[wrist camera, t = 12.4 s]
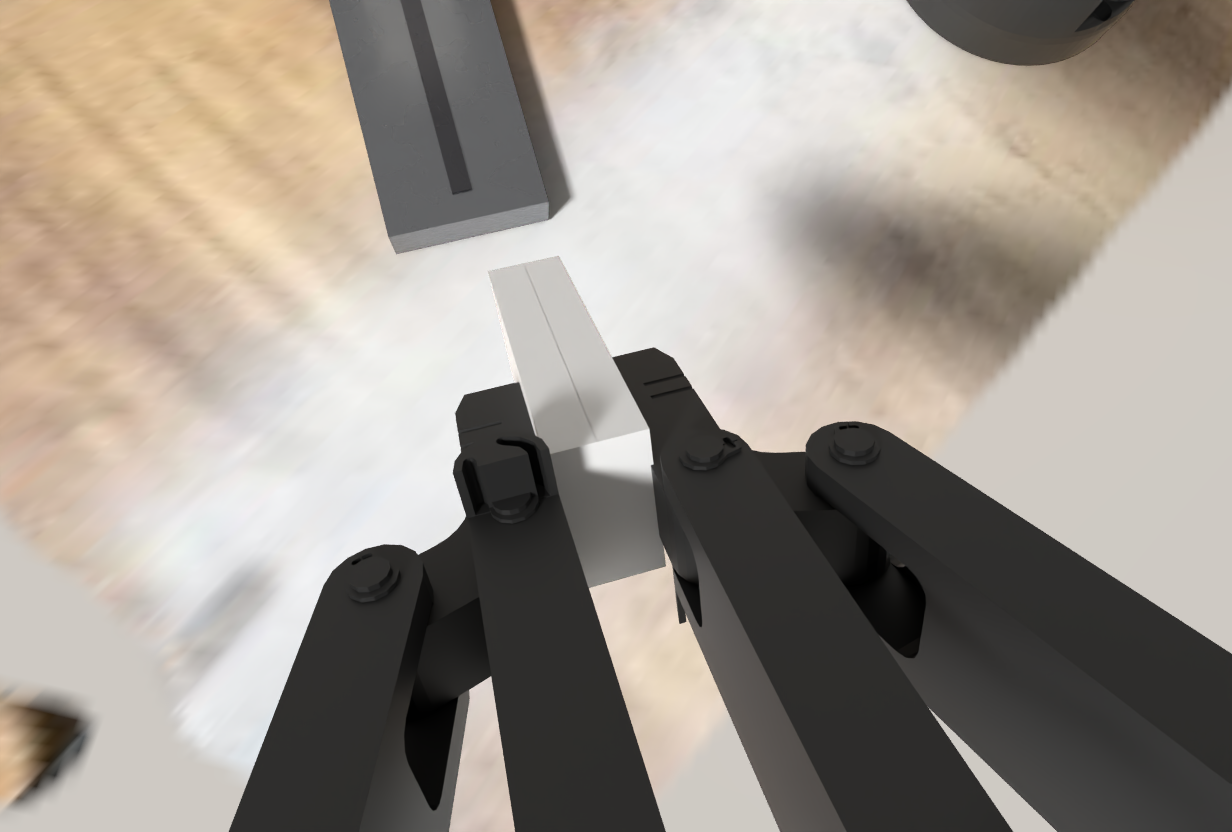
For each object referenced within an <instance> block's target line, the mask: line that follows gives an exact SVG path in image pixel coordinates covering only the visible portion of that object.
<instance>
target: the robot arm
mask: <svg viewBox="0 0 1232 832" xmlns="http://www.w3.org/2000/svg"><path fill="white" fill-rule="evenodd" d="M907 1H908V3H909V4H910V6H911V7H912V8H913V9H914V11H915V12H916V13H917V14H918V15H919V16H920V17H921V18H922V20H923V21H924V22H925V23H927V24H928V25H929V26H930V27H931V28H932V29H933V30H934V31H936V32H937V33H938V34H939V35H941V36H942V37H944V38H945V39H946V40H948V41H950V42H951V43H953V44H954V45H956V46H958V47H960V48H962V49H963V50H966V51H968V52H970V53H972V54H975V55H977V56H980V57H983V58H986V59H989V60H992V61H996V62H1001V63H1006V64H1014V65H1041V64H1048V63H1054V62H1058V61H1061V60H1064V59H1067V58H1070V57H1072V56H1074V55H1077V54H1078V53H1080V52H1082V51H1084V50H1085V49H1087V48H1088V47H1090V46H1091V45H1092V44H1094V43H1095V42H1096V41H1097V40H1098V39H1099V38H1100V37H1101V36H1102V35H1103V34H1104V33H1106V32H1107V31H1108V30H1109V29H1110V28H1111V27H1112V26H1113V25H1114V24H1115V23H1116V22H1117V21H1118V20H1119V19H1120V18H1121V17H1122V16H1123V15H1124V14H1125V13H1126V12H1127V11H1128V9H1129V8H1130V7H1131V6H1132V4H1133V3H1134V1H1135V0H907ZM488 274H489V278H490V283H491V287H492V291H493V295H494V300H495V304H496V308H497V312H498V317H499V321H500V325H501V330H502V334H503V338H504V342H505V347H506V351H507V355H508V359H509V364H510V368H511V372H512V376H513V381H514V383H512V384H508V385H504V386H500V387H495V388H491V389H487V390H483V391H479V392H475V393H470V394H466V395H464V397H463V399H462V401H461V403H460V405H459V407H458V409H457V411H456V413H455V415H456V422H457V428H458V433H459V441H460V446H461V454H460V455H459V456H458V458H457V459H456V460H455V463H454V469H453V475H454V478H455V481H456V484H457V488H458V491H459V494H460V497H461V500H462V504H463V507H464V510H465V513H466V518H465V520H464V521H463V523H462V524H461V525H460V527H459V528H458V529H457V530H456V531H455V532H454V533H453V534H452V535H451V536H450V537H448V538H447V539H446V540H444V541H442V542H441V543H439V544H438V545H436V546H434V547H432V548H431V549H429V550H427V551H425V552H423V553H421V554H419V555H418V554H417V553H416V552H415V551H414V550H411V549H409V548H407V547H405V546H402V545H385V544H384V545H380V546H376V547H372V548H368V549H365V550H363V551H361V552H359V553H357V554H355V555H353V556H351V557H349V558H347V559H346V560H345V561H344V562H343V563H341V564H340V565H339V566H338V567H337V568H336V569H334V570H333V571H332V573H331V575H330V576H329V578H328V579H327V581H326V583H325V584H324V586H323V589H322V591H321V594H320V596H319V599H318V602H317V604H316V607H315V609H314V612H313V614H312V617H311V620H310V622H309V625H308V627H307V630H306V633H305V635H304V638H303V640H302V643H301V646H300V648H299V651H298V653H297V656H296V659H295V661H294V664H293V666H292V669H291V672H290V674H289V677H288V679H287V682H286V684H285V687H284V690H283V692H282V695H281V697H280V700H279V703H278V705H277V708H276V710H275V713H274V716H273V718H272V721H271V723H270V726H269V729H268V731H267V734H266V736H265V739H264V742H263V744H262V747H261V749H260V752H259V754H258V757H257V760H256V762H255V765H254V767H253V770H252V773H251V775H250V778H249V780H248V783H247V786H246V788H245V791H244V794H243V796H242V799H241V801H240V804H239V806H238V809H237V812H236V814H235V817H234V819H233V822H232V825H231V827H230V830H229V832H449V827H450V820H451V814H452V808H453V801H454V795H455V788H456V782H457V776H458V769H459V763H460V756H461V750H462V744H463V737H464V731H465V724H466V718H467V712H468V705H469V699H470V698H469V689H471V688H473V687H474V686H476V685H477V684H479V683H481V682H482V681H484V680H485V679H487V678H489V677H490V676H491V677H492V683H493V690H494V696H495V703H496V709H497V716H498V722H499V729H500V735H501V742H502V748H503V755H504V761H505V768H506V774H507V781H508V787H509V794H510V800H511V807H512V813H513V820H514V826H515V832H666V831H665V828H664V825H663V822H662V818H661V816H660V812H659V809H658V806H657V803H656V799H655V796H654V793H653V790H652V787H651V784H650V780H649V777H648V774H647V771H646V768H645V765H644V762H643V758H642V755H641V752H640V749H639V746H638V743H637V739H636V736H635V733H634V730H633V727H632V724H631V720H630V717H629V714H628V711H627V708H626V705H625V701H624V698H623V695H622V692H621V689H620V686H619V682H618V679H617V676H616V673H615V670H614V667H613V663H612V660H611V657H610V654H609V651H608V648H607V645H606V641H605V638H604V635H603V632H602V629H601V626H600V622H599V619H598V616H597V613H596V610H595V607H594V603H593V600H592V597H591V594H590V591H589V588H590V587H594V586H597V585H601V584H605V583H608V582H612V581H615V580H619V579H622V578H626V577H629V576H633V575H637V574H640V573H644V572H647V571H651V570H654V569H658V568H661V567H665V566H666V564H665V556H664V548H665V550H666V552H667V554H668V556H669V559H670V561H671V563H672V566H673V575H674V584H675V593H676V602H677V611H678V617H679V624H681V623H684V622H686V615H687V618H688V620H689V622H690V625H691V627H692V629H693V632H694V634H695V636H696V639H697V641H698V643H699V645H700V648H701V650H702V652H703V655H704V657H705V659H706V662H707V664H708V666H709V668H710V671H711V673H712V675H713V678H714V680H715V682H716V685H717V687H718V689H719V692H720V694H721V696H722V698H723V701H724V703H725V705H726V708H727V710H728V712H729V715H730V717H731V719H732V721H733V724H734V726H735V728H736V731H737V733H738V735H739V738H740V739H741V742H742V745H743V747H744V749H745V751H746V754H747V756H748V758H749V761H750V763H751V765H752V768H753V770H754V772H755V774H756V777H757V779H758V781H759V784H760V786H761V788H762V791H763V793H764V795H765V797H766V800H767V802H768V804H769V807H770V809H771V811H772V813H773V816H774V818H775V821H776V823H777V825H778V827H779V830H780V832H1013V831H1012V829H1011V828H1010V827H1009V825H1008V824H1007V822H1006V821H1005V819H1004V818H1003V817H1002V815H1001V813H1000V812H999V811H998V809H997V808H996V806H995V805H994V803H993V802H992V800H991V799H990V798H989V796H988V794H987V793H986V791H985V790H984V789H983V787H982V786H981V785H980V783H979V781H978V780H977V778H976V777H975V775H974V774H973V772H972V771H971V770H970V768H969V767H968V765H967V764H966V762H965V761H964V759H963V758H962V757H961V755H960V754H959V752H958V751H957V749H956V748H955V746H954V745H953V743H952V742H951V740H950V739H949V737H948V736H947V735H946V733H945V732H944V730H943V729H942V727H941V726H940V724H939V723H938V721H937V720H936V719H935V717H934V716H933V714H932V713H931V711H930V710H929V708H930V709H931V710H932V711H933V712H934V713H935V714H936V715H937V716H938V717H939V718H940V719H941V720H942V721H943V722H944V723H945V724H946V725H947V726H948V727H949V728H950V729H951V730H953V731H954V732H955V733H956V734H957V735H958V736H959V737H960V738H961V739H962V740H963V741H964V742H965V743H966V744H967V745H968V746H969V747H970V748H971V749H972V750H973V751H974V752H975V753H976V754H977V755H979V756H980V757H981V758H982V759H983V760H984V761H985V762H986V763H987V764H988V765H989V766H990V767H991V768H992V769H993V770H994V771H995V772H996V773H997V774H998V775H999V776H1000V777H1001V778H1002V779H1004V781H1005V782H1007V784H1009V785H1010V786H1011V787H1012V788H1013V789H1014V790H1015V791H1016V792H1017V793H1018V794H1019V795H1020V796H1021V797H1022V798H1023V799H1024V800H1025V801H1026V802H1027V803H1028V804H1029V805H1030V806H1031V807H1033V809H1034V810H1036V811H1037V812H1038V813H1039V814H1040V815H1041V816H1042V817H1043V818H1044V819H1045V820H1046V821H1047V822H1048V823H1049V824H1050V825H1051V826H1052V827H1053V828H1054V829H1055V830H1056V831H1057V832H1232V654H1231V653H1230V652H1228V651H1226V650H1225V649H1223V648H1222V647H1220V646H1219V645H1217V644H1215V643H1214V642H1213V641H1211V640H1209V639H1208V638H1206V637H1205V636H1203V635H1202V634H1200V633H1199V632H1197V631H1196V630H1194V629H1192V628H1191V627H1189V626H1188V625H1186V624H1185V623H1183V622H1182V621H1180V620H1179V619H1177V618H1176V617H1174V616H1172V615H1171V614H1169V613H1168V612H1166V611H1164V610H1163V609H1162V608H1160V607H1158V606H1157V605H1155V604H1154V603H1152V602H1151V601H1149V600H1148V599H1146V598H1145V597H1143V596H1142V595H1140V594H1139V593H1137V592H1135V591H1134V590H1132V589H1131V588H1129V587H1128V586H1126V585H1125V584H1123V583H1121V582H1120V581H1118V580H1117V579H1115V578H1114V577H1112V576H1111V575H1109V574H1107V573H1106V572H1105V571H1103V570H1102V569H1100V568H1098V567H1097V566H1095V565H1094V564H1092V563H1091V562H1089V561H1087V560H1086V559H1084V558H1083V557H1081V556H1080V555H1078V554H1077V553H1075V552H1073V551H1072V550H1071V549H1069V548H1067V547H1066V546H1064V545H1063V544H1061V543H1060V542H1058V541H1057V540H1055V539H1053V538H1052V537H1051V536H1049V535H1047V534H1046V533H1044V532H1043V531H1041V530H1040V529H1038V528H1037V527H1035V526H1034V525H1032V524H1030V523H1029V522H1027V521H1026V520H1024V519H1023V518H1021V517H1020V516H1018V515H1017V514H1015V513H1013V512H1012V511H1011V510H1009V509H1007V508H1006V507H1004V506H1003V505H1001V504H1000V503H998V502H997V501H995V500H994V499H992V498H990V497H989V496H987V495H986V494H984V493H983V492H981V491H980V490H978V489H977V488H975V487H973V486H972V485H970V484H969V483H967V482H966V481H964V480H963V479H961V478H960V477H958V476H957V475H955V474H953V473H952V472H950V471H949V470H947V469H946V468H944V467H943V466H941V465H940V464H938V463H937V462H935V461H933V460H932V459H930V458H929V457H927V456H926V455H924V454H923V453H921V452H920V451H918V450H916V449H915V448H913V447H912V446H910V445H909V444H907V443H906V442H904V441H903V440H901V439H900V438H898V437H896V436H895V435H893V434H892V433H890V432H889V431H886V430H884V429H882V428H880V427H878V426H875V425H872V424H867V423H862V422H856V421H855V422H837V423H833V424H830V425H827V426H823V427H821V428H820V429H818V430H817V431H816V432H814V433H813V434H811V436H810V438H809V440H808V442H807V444H806V452H787V453H767V452H759V451H753V450H751V448H750V447H749V445H748V444H747V443H746V442H745V441H744V440H742V439H741V438H740V437H739V436H738V435H736V434H733V433H731V432H728V431H725V430H721V429H720V428H719V427H718V425H717V424H716V422H715V421H714V419H713V418H712V416H711V414H710V413H709V411H708V410H707V408H706V407H705V405H704V404H703V402H702V401H701V399H700V398H699V396H698V395H697V393H696V392H695V390H694V389H692V386H691V384H690V383H689V381H688V380H687V378H686V376H685V377H684V374H683V372H682V370H681V369H680V367H679V366H678V364H677V363H676V361H675V360H674V358H672V357H670V356H669V355H667V354H665V353H663V352H661V351H659V350H658V349H656V348H650V349H645V350H641V351H637V352H633V353H629V354H625V355H620V356H616V357H612V356H611V355H610V353H609V351H608V349H607V347H606V345H605V343H604V341H603V339H602V337H601V335H600V333H599V332H598V330H597V328H596V326H595V324H594V322H593V320H592V318H591V316H590V314H589V312H588V311H587V309H586V307H585V305H584V303H583V301H582V299H581V297H580V295H579V293H578V291H577V290H576V288H575V286H574V284H573V282H572V280H571V278H570V276H569V274H568V272H567V270H566V268H565V267H564V265H563V263H562V261H561V259H560V257H559V256H556V257H551V258H547V259H542V260H538V261H533V262H528V263H524V264H519V265H515V266H510V267H506V268H501V269H496V270H492V271H488ZM663 545H664V547H663ZM685 613H686V615H685ZM927 706H928V707H929V708H928V707H927Z"/></svg>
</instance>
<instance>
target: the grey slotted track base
mask: <svg viewBox="0 0 1232 832" xmlns="http://www.w3.org/2000/svg"><path fill="white" fill-rule="evenodd" d="M329 2H330V6H331V10H332V13H333V17H334V21H335V25H336V29H337V33H338V37H339V41H340V45H341V49H342V53H343V57H344V61H345V65H346V69H347V73H348V77H349V81H350V85H351V89H352V93H353V97H354V101H355V105H356V109H357V113H358V117H359V121H360V125H361V129H362V133H363V137H364V141H365V145H366V149H367V153H368V157H369V161H370V165H371V169H372V173H373V177H374V181H375V185H376V189H377V193H378V197H379V201H380V205H381V209H382V213H383V217H384V221H385V225H386V229H387V233H388V237H389V239H390V241H391V244H392V246H393V248H394V250H395V252H396V254H398V253H403V252H407V251H412V250H416V249H421V248H425V247H430V246H434V245H438V244H443V243H447V242H452V241H456V240H461V239H465V238H470V237H474V236H478V235H483V234H487V233H492V232H496V231H501V230H505V229H510V228H514V227H519V226H523V225H527V224H532V223H536V222H541V221H545V220H548V215H549V201H548V198H547V194H546V191H545V187H544V184H543V180H542V177H541V174H540V170H539V167H538V163H537V160H536V156H535V153H534V149H533V146H532V143H531V139H530V136H529V132H528V129H527V125H526V122H525V119H524V115H523V112H522V108H521V105H520V101H519V98H518V95H517V91H516V88H515V84H514V81H513V77H512V74H511V71H510V67H509V64H508V60H507V57H506V53H505V50H504V47H503V43H502V40H501V36H500V33H499V29H498V26H497V22H496V19H495V16H494V12H493V9H492V5H491V2H490V0H329Z"/></svg>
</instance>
